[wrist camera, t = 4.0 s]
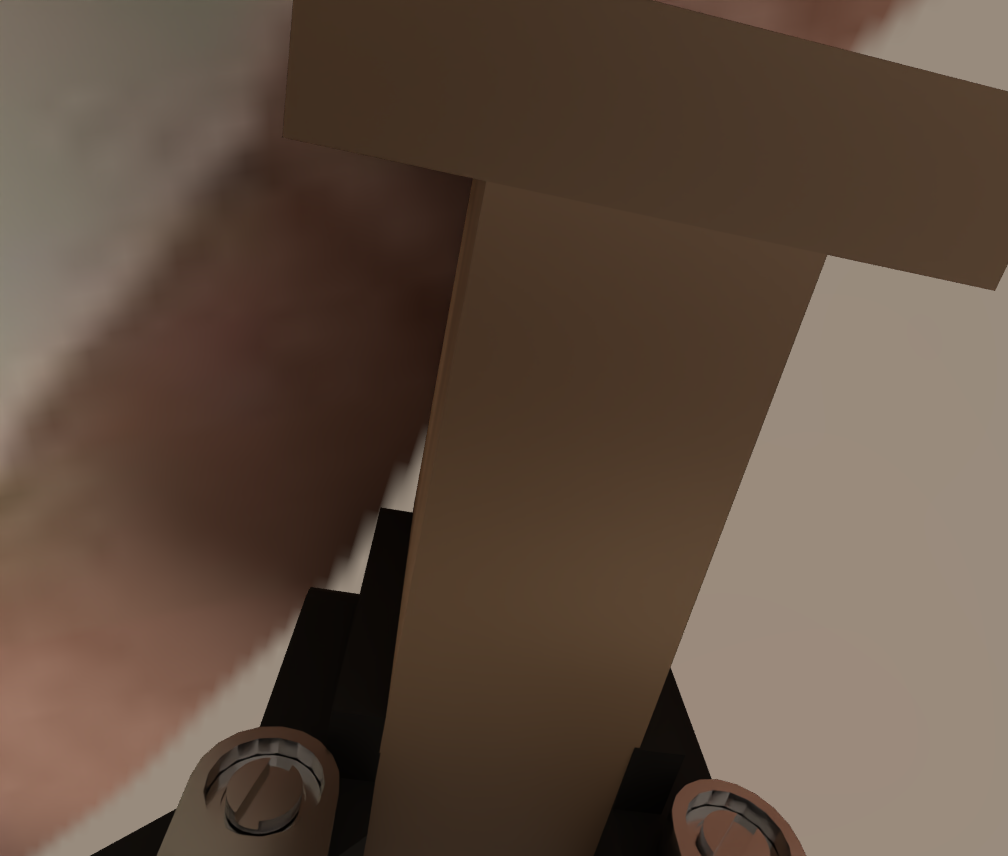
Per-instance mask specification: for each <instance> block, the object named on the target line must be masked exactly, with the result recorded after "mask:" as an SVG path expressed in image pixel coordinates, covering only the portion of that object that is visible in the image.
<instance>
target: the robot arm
mask: <svg viewBox="0 0 1008 856" xmlns="http://www.w3.org/2000/svg"><path fill="white" fill-rule="evenodd" d="M412 517H413V513H412V512H406V511H399V510H393V509H387V508H380V512H379V516H378V520H377V525H376V529H375V533H374V537H373V541H372V545H371V550H370V554H369V558H368V562H367V566H366V570H365V575H364V579H363V583H362V587H361V591H360V594H355V593H348V592H341V591H334V590H327V589H321V588H314V587H311V588H310V589H309V591H308V593H307V595H306V598H305V601H304V604H303V606H302V609H301V612H300V615H299V618H298V620H297V623H296V626H295V629H294V632H293V635H292V637H291V640H290V643H289V646H288V649H287V651H286V654H285V657H284V660H283V663H282V666H281V668H280V672H279V674H278V677H277V680H276V683H275V686H274V688H273V691H272V694H271V697H270V700H269V702H268V705H267V708H266V711H265V714H264V716H263V719H262V722H261V725H260V727H258V728H254V729H250V730H246V731H242V732H238V733H236V734H234V735H232V736H230V737H229V738H227V739H225V740H223V741H221V742H219V743H218V744H216V745H215V746H214V747H213V748H212V749H211V750H210V751H209V752H207V753H206V754H205V755H204V756H203V757H202V758H201V759H200V761H199V763H198V764H197V766H196V767H195V769H194V771H193V772H192V774H191V775H190V778H189V780H188V782H187V785H186V787H185V790H184V792H183V794H182V797H181V799H180V801H179V804H178V806H177V809H175V810H174V811H171V812H169V813H168V814H166V815H164V816H162V817H160V818H158V819H156V820H155V821H153V822H151V823H149V824H148V825H146V826H144V827H142V828H140V829H138V830H137V831H135V832H133V833H131V834H129V835H127V836H125V837H124V838H122V839H120V840H118V841H116V842H114V843H113V844H111V845H109V846H107V847H105V848H104V849H102V850H100V851H98V852H96V853H94V854H92V855H91V856H363V855H364V850H365V845H366V839H367V834H368V827H369V820H370V814H371V807H372V800H373V793H374V787H375V780H376V775H377V770H378V765H379V759H380V754H381V753H379V752H380V746H381V741H382V736H383V730H384V725H385V720H386V713H387V705H388V698H389V690H390V683H391V675H392V668H393V660H394V653H395V645H396V638H397V630H398V623H399V615H400V607H401V600H402V592H403V585H404V577H405V570H406V562H407V555H408V547H409V540H410V532H411V525H412ZM594 856H806V854H805V852H804V850H803V848H802V845H801V843H800V841H799V840H798V838H797V836H796V835H795V833H794V831H793V830H792V828H791V826H790V825H789V824H788V823H787V822H786V820H784V818H783V817H782V816H781V815H780V814H779V813H778V812H777V811H776V809H775V808H774V807H772V806H771V805H770V804H768V803H767V802H766V801H764V800H763V799H762V798H760V797H759V796H758V795H756V794H755V793H753V792H751V791H749V790H747V789H745V788H743V787H741V786H738V785H737V784H733V783H730V782H725V781H722V780H718V779H711V776H710V773H709V771H708V768H707V765H706V762H705V760H704V757H703V754H702V752H701V749H700V746H699V743H698V741H697V738H696V735H695V733H694V730H693V727H692V724H691V722H690V719H689V717H688V714H687V711H686V708H685V706H684V703H683V700H682V698H681V695H680V692H679V689H678V687H677V684H676V681H675V678H674V676H673V673H672V670H671V668H670V669H669V672H668V675H667V677H666V680H665V683H664V685H663V688H662V690H661V693H660V696H659V698H658V701H657V704H656V706H655V709H654V711H653V714H652V717H651V719H650V722H649V725H648V727H647V730H646V733H645V735H644V738H643V740H642V743H641V746H640V748H634V750H633V753H632V756H631V758H630V761H629V764H628V766H627V769H626V771H625V774H624V777H623V779H622V782H621V785H620V787H619V790H618V793H617V795H616V798H615V800H614V803H613V806H612V808H611V811H610V814H609V816H608V819H607V822H606V824H605V827H604V829H603V832H602V835H601V837H600V840H599V843H598V845H597V848H596V851H595V853H594Z"/></svg>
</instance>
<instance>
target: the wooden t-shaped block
mask: <svg viewBox="0 0 1008 856" xmlns="http://www.w3.org/2000/svg"><path fill="white" fill-rule="evenodd" d="M282 137H283V138H288V139H293V140H297V141H302V142H307V143H311V144H316V145H320V146H325V147H330V148H334V149H339V150H344V151H348V152H353V153H358V154H362V155H367V156H372V157H376V158H381V159H385V160H390V161H395V162H399V163H404V164H409V165H413V166H418V167H423V168H427V169H432V170H437V171H441V172H446V173H450V174H455V175H460V176H464V177H469V178H473V180H472V186H471V191H470V197H469V202H468V208H467V213H466V219H465V225H464V230H463V236H462V241H461V247H460V252H459V258H458V263H457V269H456V275H455V280H454V286H453V291H452V297H451V302H450V308H449V313H448V319H447V325H446V330H445V336H444V341H443V347H442V352H441V358H440V363H439V369H438V374H437V380H436V386H435V391H434V397H433V402H432V408H431V413H430V419H429V424H428V430H427V436H426V441H425V447H424V452H423V458H422V463H421V469H420V474H419V480H418V486H417V491H416V497H415V502H414V508H413V517H412V525H411V532H410V540H409V547H408V555H407V562H406V570H405V577H404V585H403V592H402V600H401V607H400V615H399V623H398V630H397V638H396V645H395V653H394V660H393V668H392V675H391V683H390V690H389V698H388V705H387V713H386V720H385V725H384V730H383V736H382V741H381V746H380V752H379V753H381V754H380V759H379V765H378V770H377V775H376V780H375V787H374V793H373V800H372V807H371V814H370V820H369V827H368V834H367V839H366V845H365V850H364V855H363V856H594V853H595V851H596V848H597V845H598V843H599V840H600V837H601V835H602V832H603V829H604V827H605V824H606V822H607V819H608V816H609V814H610V811H611V808H612V806H613V803H614V800H615V798H616V795H617V793H618V790H619V787H620V785H621V782H622V779H623V777H624V774H625V771H626V769H627V766H628V764H629V761H630V758H631V756H632V753H633V750H634V748H640V746H641V743H642V740H643V738H644V735H645V733H646V730H647V727H648V725H649V722H650V719H651V717H652V714H653V711H654V709H655V706H656V704H657V701H658V698H659V696H660V693H661V690H662V688H663V685H664V683H665V680H666V677H667V675H668V672H669V669H670V667H671V664H672V662H673V659H674V656H675V654H676V651H677V648H678V646H679V643H680V641H681V638H682V635H683V632H684V630H685V627H686V625H687V622H688V620H689V617H690V614H691V612H692V609H693V606H694V604H695V601H696V599H697V596H698V593H699V591H700V588H701V585H702V583H703V580H704V577H705V575H706V572H707V570H708V567H709V564H710V562H711V559H712V556H713V554H714V551H715V548H716V546H717V543H718V541H719V538H720V535H721V533H722V530H723V528H724V525H725V522H726V520H727V516H728V514H729V512H730V509H731V506H732V504H733V501H734V499H735V496H736V493H737V491H738V488H739V485H740V483H741V480H742V478H743V475H744V472H745V470H746V467H747V465H748V462H749V459H750V457H751V454H752V451H753V449H754V446H755V444H756V441H757V438H758V436H759V433H760V430H761V428H762V425H763V422H764V420H765V417H766V415H767V412H768V409H769V407H770V404H771V401H772V399H773V396H774V393H775V391H776V388H777V386H778V383H779V380H780V378H781V375H782V373H783V370H784V367H785V365H786V362H787V359H788V357H789V354H790V352H791V349H792V346H793V344H794V341H795V338H796V336H797V333H798V330H799V328H800V325H801V322H802V320H803V317H804V315H805V312H806V309H807V307H808V304H809V302H810V299H811V296H812V294H813V291H814V289H815V286H816V283H817V281H818V278H819V275H820V273H821V270H822V267H823V265H824V262H825V260H826V257H827V255H832V256H836V257H840V258H845V259H850V260H854V261H859V262H864V263H868V264H873V265H878V266H882V267H887V268H891V269H896V270H901V271H906V272H910V273H915V274H919V275H924V276H929V277H934V278H938V279H943V280H947V281H952V282H956V283H961V284H966V285H970V286H976V287H980V288H984V289H989V290H994V291H995V289H996V288H997V285H998V283H999V281H1000V279H1001V277H1002V275H1003V273H1004V271H1005V269H1006V267H1007V265H1008V91H1004V90H1000V89H996V88H992V87H988V86H984V85H981V84H977V83H973V82H969V81H965V80H961V79H957V78H953V77H949V76H945V75H941V74H937V73H934V72H929V71H926V70H922V69H918V68H914V67H910V66H906V65H902V64H899V63H895V62H891V61H887V60H883V59H879V58H875V57H871V56H867V55H863V54H859V53H856V52H852V51H848V50H844V49H840V48H836V47H832V46H828V45H824V44H820V43H817V42H813V41H809V40H805V39H801V38H797V37H793V36H789V35H785V34H781V33H777V32H774V31H770V30H766V29H762V28H758V27H754V26H750V25H746V24H742V23H738V22H734V21H731V20H727V19H723V18H719V17H715V16H711V15H707V14H703V13H699V12H695V11H692V10H688V9H684V8H680V7H676V6H672V5H668V4H664V3H660V2H656V1H652V0H293V9H292V22H291V34H290V47H289V60H288V73H287V85H286V98H285V111H284V123H283V136H282Z"/></svg>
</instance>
